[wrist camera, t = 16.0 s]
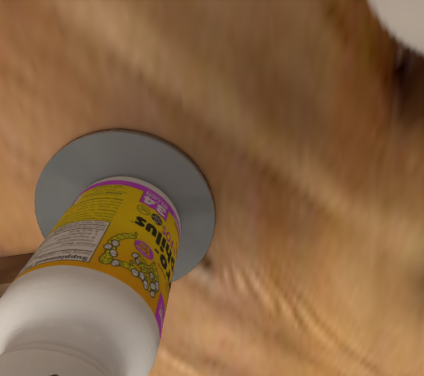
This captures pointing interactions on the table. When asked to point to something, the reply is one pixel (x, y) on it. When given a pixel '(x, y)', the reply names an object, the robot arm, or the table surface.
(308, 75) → the table surface
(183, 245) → the slate coaster
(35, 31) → the table surface
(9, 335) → the supplement bottle
